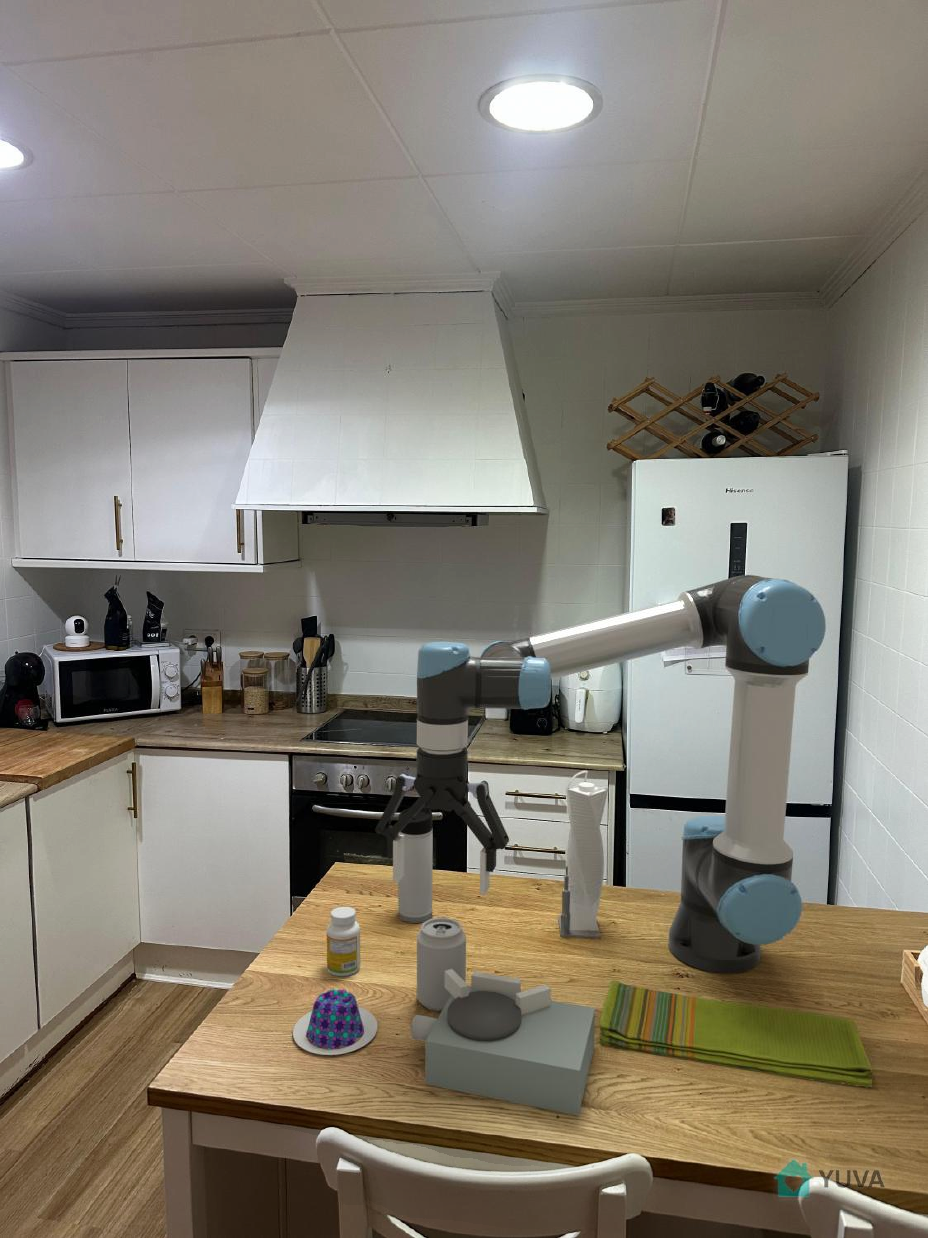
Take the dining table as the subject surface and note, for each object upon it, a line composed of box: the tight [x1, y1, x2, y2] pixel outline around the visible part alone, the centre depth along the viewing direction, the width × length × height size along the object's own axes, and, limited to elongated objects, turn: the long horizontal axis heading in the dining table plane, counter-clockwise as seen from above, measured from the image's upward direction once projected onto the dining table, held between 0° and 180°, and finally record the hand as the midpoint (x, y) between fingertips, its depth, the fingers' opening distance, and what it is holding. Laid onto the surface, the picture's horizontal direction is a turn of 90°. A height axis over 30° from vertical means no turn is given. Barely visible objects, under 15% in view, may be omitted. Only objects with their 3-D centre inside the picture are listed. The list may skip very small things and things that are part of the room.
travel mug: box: [397, 805, 434, 924], centre depth 155 cm, size 6×7×20 cm
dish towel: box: [598, 980, 873, 1088], centre depth 121 cm, size 15×36×3 cm, turn 75°
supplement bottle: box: [326, 906, 361, 977], centre depth 137 cm, size 5×5×10 cm
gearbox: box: [410, 969, 596, 1117], centre depth 114 cm, size 24×14×8 cm, turn 74°
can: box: [416, 917, 467, 1012], centre depth 128 cm, size 8×8×12 cm
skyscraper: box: [557, 769, 609, 939], centre depth 151 cm, size 8×8×28 cm
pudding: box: [292, 989, 378, 1056], centre depth 121 cm, size 12×12×5 cm
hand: (440, 885), depth 127 cm, fingers open, 13 cm apart
